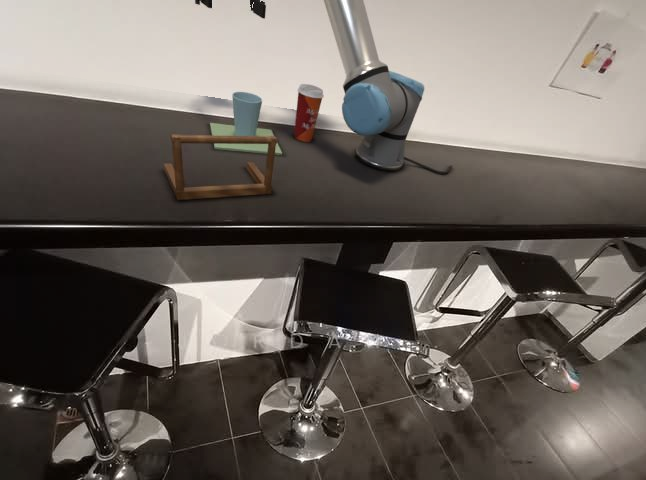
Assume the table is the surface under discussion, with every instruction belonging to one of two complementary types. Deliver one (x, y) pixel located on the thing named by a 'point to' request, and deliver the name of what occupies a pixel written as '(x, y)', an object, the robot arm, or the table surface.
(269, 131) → the mat
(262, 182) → the rack
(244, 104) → the cup
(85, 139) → the table surface
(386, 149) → the robot arm
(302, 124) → the paper cup
